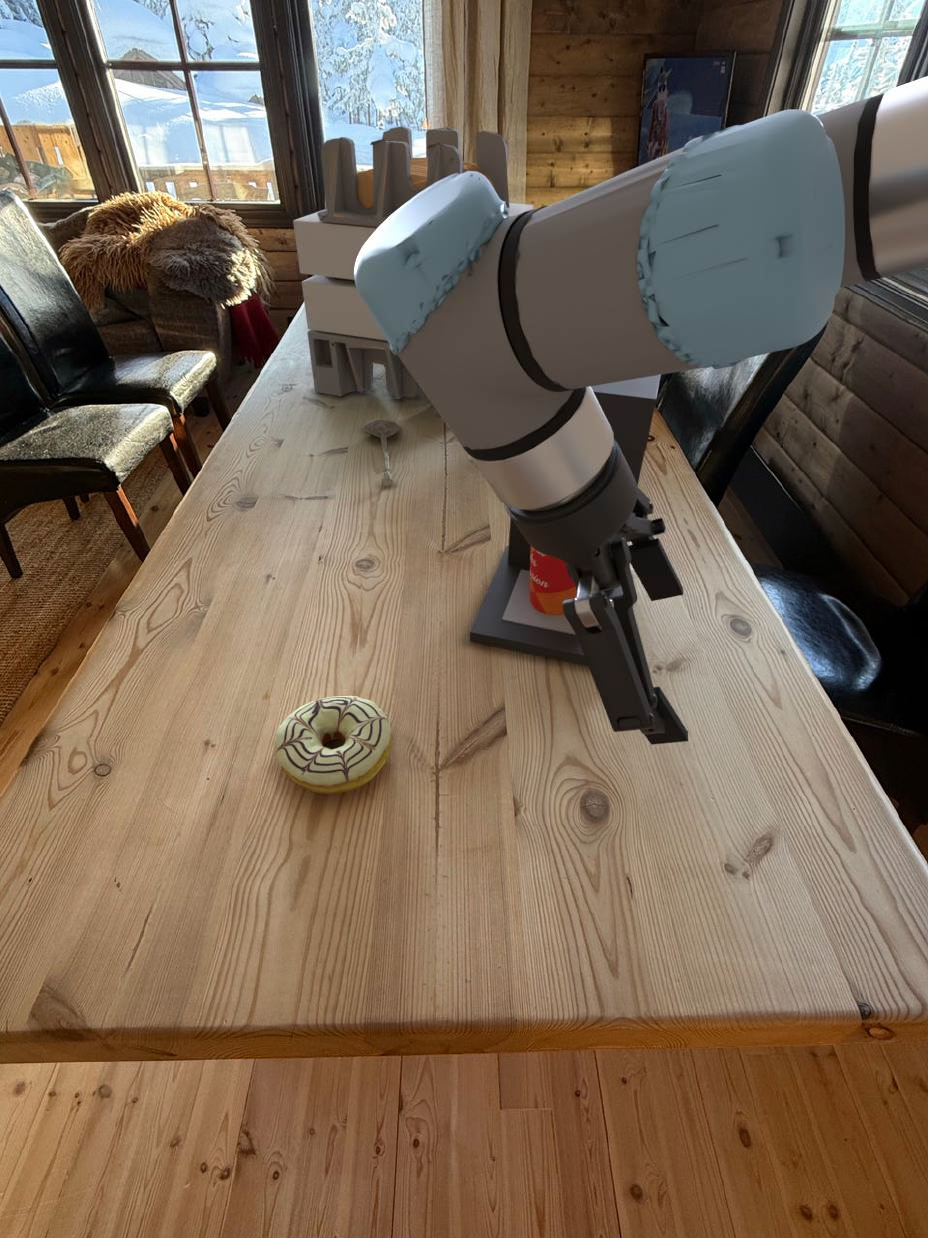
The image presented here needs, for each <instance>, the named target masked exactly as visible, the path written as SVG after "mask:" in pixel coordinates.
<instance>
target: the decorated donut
mask: <svg viewBox="0 0 928 1238" xmlns="http://www.w3.org/2000/svg"><path fill="white" fill-rule="evenodd" d="M333 740H334V741H335V740H341V741H344V744H343V745H342V746H339V747H337V748H333V749H331V748H329V747H326V746H324V744H326V743H328V742H330V741H333ZM392 747H393V734H392V729H391V725H390V720H389V718H388V717H387V715H386V714H385V712H383V710H382V709H381V708H380V707H378V706H377V704H376V702H375V701H373V700H370V699H367V698H361V697H359V696H357V695H343V696H341V695H340V696H335V695H334V696H328V697H323V698H318V699H315V700H312V701H309V702H308V703H306V704H303V705H301V706H300V707H298V708H297V709H296V710H294V711H293V712H292V713H290V714H289V715H288V716H286V718H285V719H284V720H283V721H282V722H281V724H280V726H279V727H278V728H277V730H276V732H275V739H274V744H273V757H274V758H275V760H276V761H277V763H278V765H279V766H280V768H281V770H282V771H284V773H285V775H286V776H287V777H288V778H289V779H290V780H292V781H293V782H294V783H295V784H296V785H298V786H299V787H301V788H303V789H304V790H306V791H309V792H313V793H316V794H319V795H320V794H323V795H337V794H343V793H347V792H351V791H354V790H356V789H359V788H361V787H363V786H365V785H367V784H368V783H370V781H371V780H372V779H374V777H376V776H377V774H379V772H380V771H381V769H382V768H383V767H384V766H385V764H386V763H387V760H388V759H389V757H390V755H391V753H392Z"/></svg>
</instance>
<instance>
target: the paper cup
mask: <svg viewBox="0 0 928 1238" xmlns="http://www.w3.org/2000/svg"><path fill="white" fill-rule="evenodd" d="M576 597H577V590H576V587H575V583H574V582H573V580H572V578H570V577H569V575H568V571H567V568H566V564H565V562H564V561H562V560H560V559H557V558H555V557H552V556H549V555H545V554H543V553H540V552H538V551H537V550H535V549H534V548H533V547H532V546H531V552H530V602H531V604H532V606H533V607H534V608H535V609H536V610H538V611H540V612H542V613H544V614H548V615H563V614H564V612H563V601H564V600H568V599H572V598H576Z"/></svg>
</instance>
